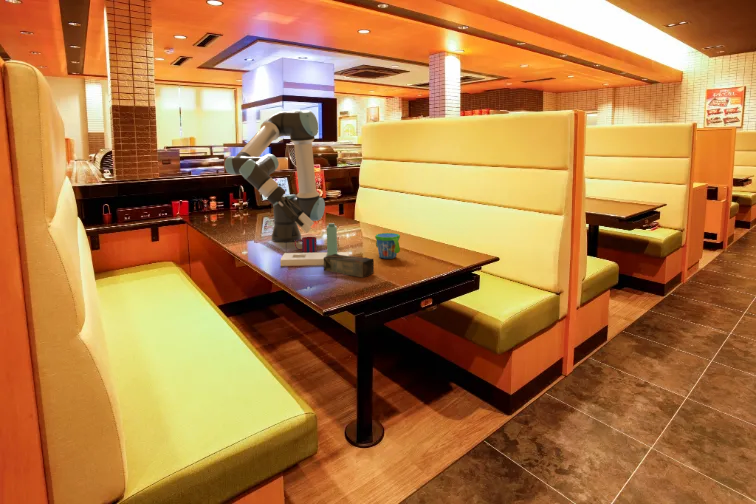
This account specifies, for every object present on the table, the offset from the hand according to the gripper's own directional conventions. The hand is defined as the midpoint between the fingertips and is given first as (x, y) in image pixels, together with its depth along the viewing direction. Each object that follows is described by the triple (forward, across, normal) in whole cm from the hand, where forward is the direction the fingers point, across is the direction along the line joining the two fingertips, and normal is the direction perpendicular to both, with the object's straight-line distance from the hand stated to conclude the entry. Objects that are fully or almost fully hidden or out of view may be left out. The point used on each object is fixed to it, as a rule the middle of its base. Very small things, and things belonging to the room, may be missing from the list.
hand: (310, 228), depth 199 cm
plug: (+16, -1, -4) cm, 17 cm away
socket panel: (+12, -1, -10) cm, 15 cm away
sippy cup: (+34, -8, +12) cm, 37 cm away
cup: (+8, -21, -14) cm, 26 cm away
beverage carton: (+22, +15, 0) cm, 27 cm away
